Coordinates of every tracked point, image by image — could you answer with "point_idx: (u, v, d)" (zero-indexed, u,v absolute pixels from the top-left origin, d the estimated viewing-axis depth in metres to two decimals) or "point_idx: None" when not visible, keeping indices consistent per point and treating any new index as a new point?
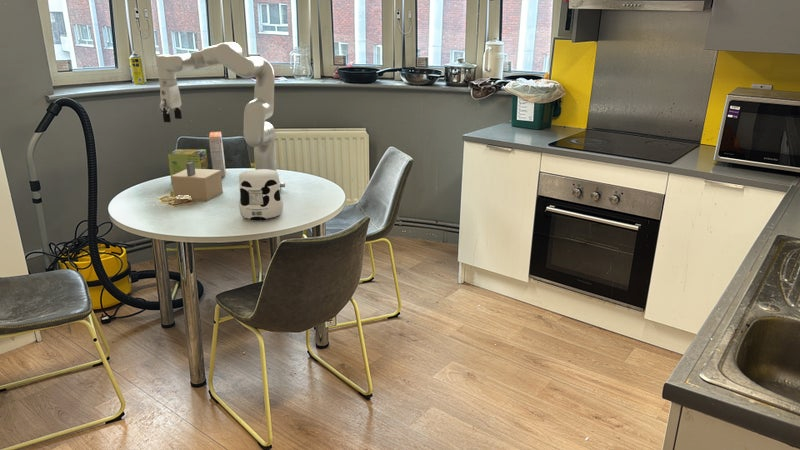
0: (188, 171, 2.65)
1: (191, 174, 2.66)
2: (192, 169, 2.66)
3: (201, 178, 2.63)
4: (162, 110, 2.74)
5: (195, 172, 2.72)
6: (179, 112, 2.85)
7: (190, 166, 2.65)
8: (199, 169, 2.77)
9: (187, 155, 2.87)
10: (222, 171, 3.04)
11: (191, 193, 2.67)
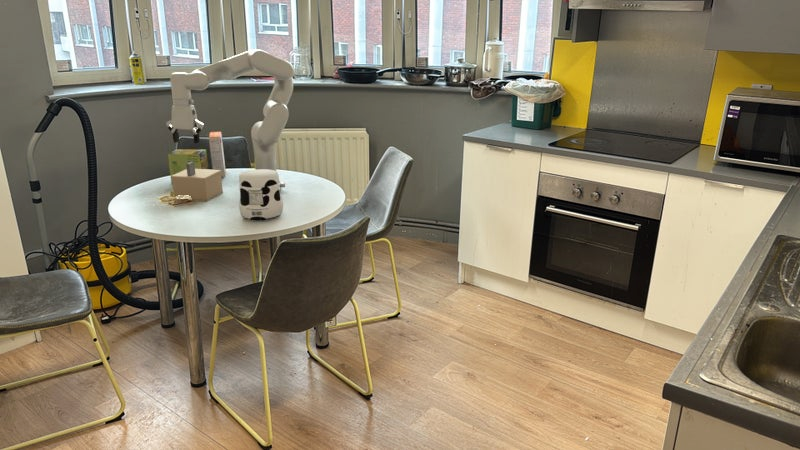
0: (188, 171, 2.65)
1: (191, 174, 2.66)
2: (192, 169, 2.66)
3: (201, 178, 2.63)
4: (201, 130, 2.59)
5: (195, 172, 2.72)
6: (177, 134, 2.63)
7: (190, 166, 2.65)
8: (199, 169, 2.77)
9: (187, 155, 2.87)
10: (222, 171, 3.04)
11: (191, 193, 2.67)
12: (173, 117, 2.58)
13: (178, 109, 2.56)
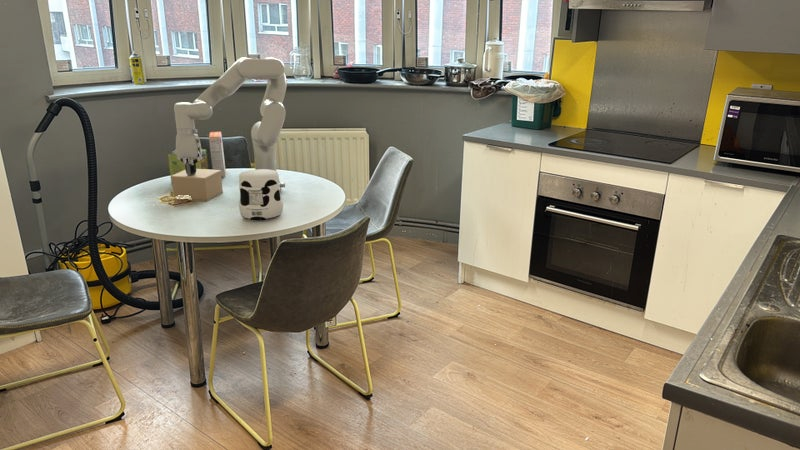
0: (188, 171, 2.65)
1: (191, 174, 2.66)
2: None
3: (201, 178, 2.63)
4: (196, 161, 2.65)
5: None
6: None
7: None
8: (199, 169, 2.77)
9: None
10: (222, 171, 3.04)
11: (191, 193, 2.67)
12: (177, 146, 2.62)
13: (182, 138, 2.60)
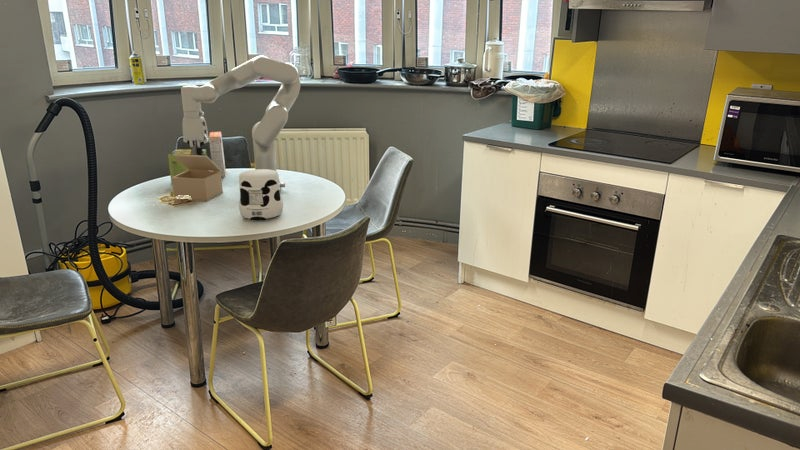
0: (192, 151, 2.67)
1: None
2: (196, 153, 2.69)
3: (203, 156, 2.63)
4: (203, 144, 2.69)
5: None
6: None
7: (196, 148, 2.68)
8: None
9: None
10: (222, 171, 3.04)
11: (191, 193, 2.67)
12: (184, 129, 2.66)
13: (189, 121, 2.64)
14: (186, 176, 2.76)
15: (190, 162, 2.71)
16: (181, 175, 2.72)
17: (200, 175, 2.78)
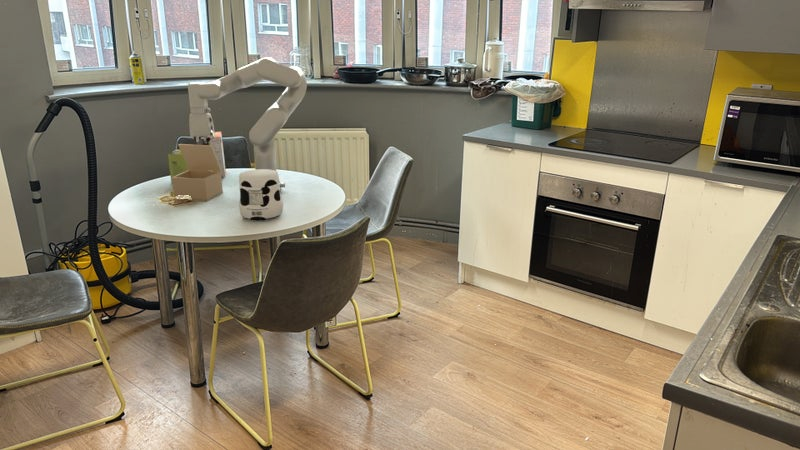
0: (198, 143, 2.71)
1: None
2: None
3: (208, 145, 2.67)
4: (209, 139, 2.74)
5: None
6: None
7: (202, 142, 2.73)
8: None
9: None
10: (222, 171, 3.04)
11: (191, 193, 2.67)
12: (191, 125, 2.71)
13: (195, 117, 2.69)
14: (186, 176, 2.76)
15: (193, 156, 2.73)
16: (181, 175, 2.72)
17: (200, 175, 2.78)
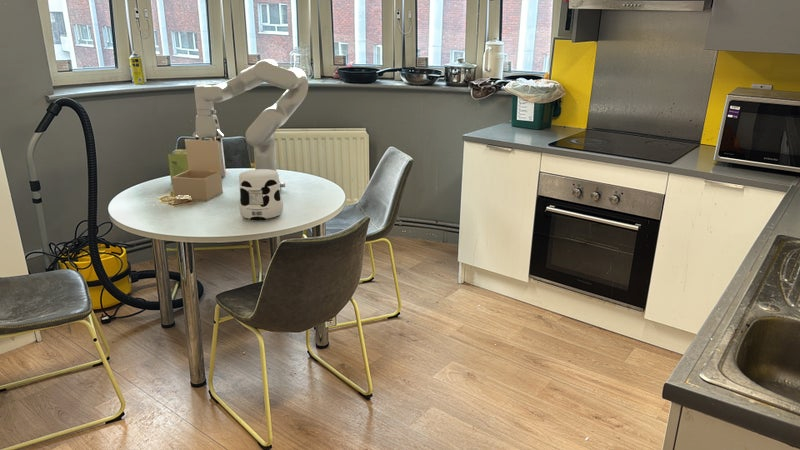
0: None
1: None
2: None
3: (214, 140, 2.72)
4: (220, 140, 2.78)
5: None
6: None
7: None
8: None
9: None
10: (222, 171, 3.04)
11: (191, 193, 2.67)
12: (197, 126, 2.76)
13: (201, 118, 2.74)
14: (186, 176, 2.76)
15: (196, 153, 2.76)
16: (181, 175, 2.72)
17: (200, 175, 2.78)
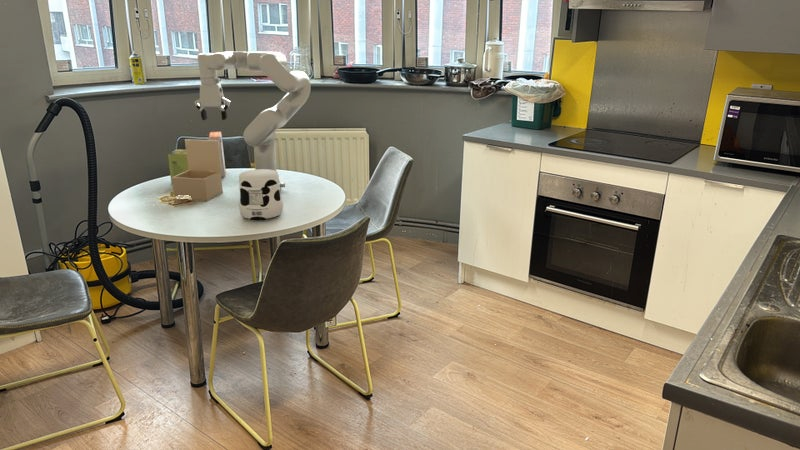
0: None
1: None
2: None
3: (214, 140, 2.72)
4: (228, 107, 2.75)
5: None
6: (205, 112, 2.79)
7: None
8: None
9: None
10: (222, 171, 3.04)
11: (191, 193, 2.67)
12: (201, 96, 2.74)
13: (206, 87, 2.72)
14: (186, 176, 2.76)
15: (196, 153, 2.76)
16: (181, 175, 2.72)
17: (200, 175, 2.78)
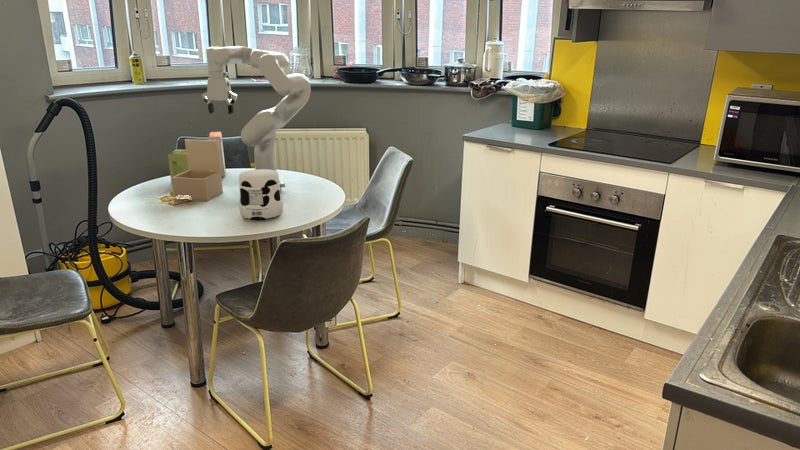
0: None
1: None
2: None
3: (214, 140, 2.72)
4: (234, 101, 2.77)
5: None
6: (212, 106, 2.82)
7: None
8: None
9: None
10: (222, 171, 3.04)
11: (191, 193, 2.67)
12: (209, 89, 2.76)
13: (213, 81, 2.74)
14: (186, 176, 2.76)
15: (196, 153, 2.76)
16: (181, 175, 2.72)
17: (200, 175, 2.78)
